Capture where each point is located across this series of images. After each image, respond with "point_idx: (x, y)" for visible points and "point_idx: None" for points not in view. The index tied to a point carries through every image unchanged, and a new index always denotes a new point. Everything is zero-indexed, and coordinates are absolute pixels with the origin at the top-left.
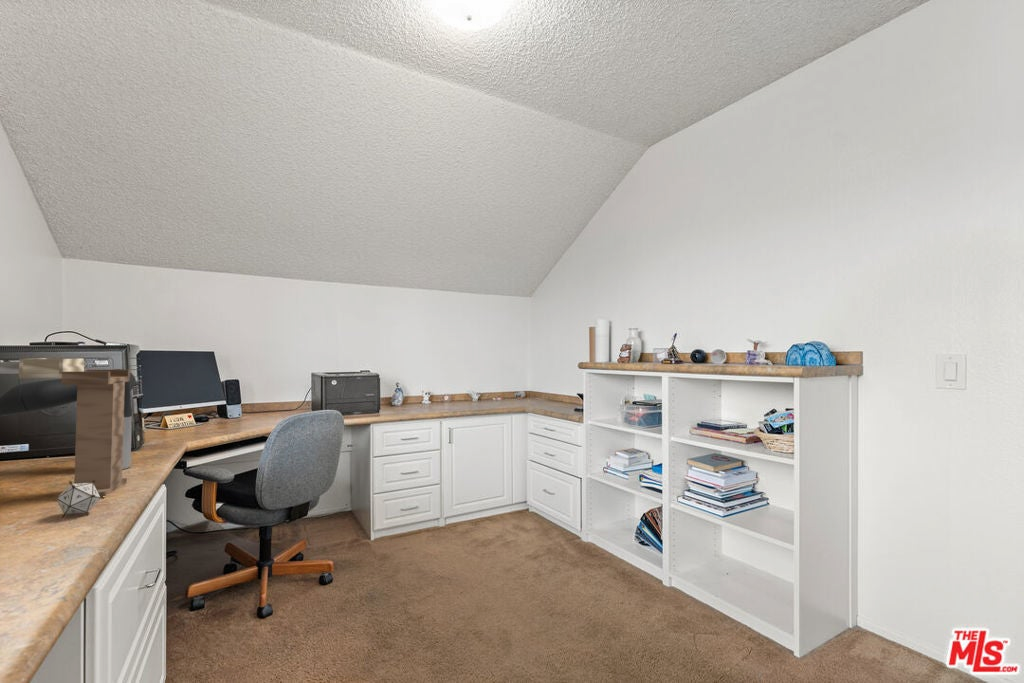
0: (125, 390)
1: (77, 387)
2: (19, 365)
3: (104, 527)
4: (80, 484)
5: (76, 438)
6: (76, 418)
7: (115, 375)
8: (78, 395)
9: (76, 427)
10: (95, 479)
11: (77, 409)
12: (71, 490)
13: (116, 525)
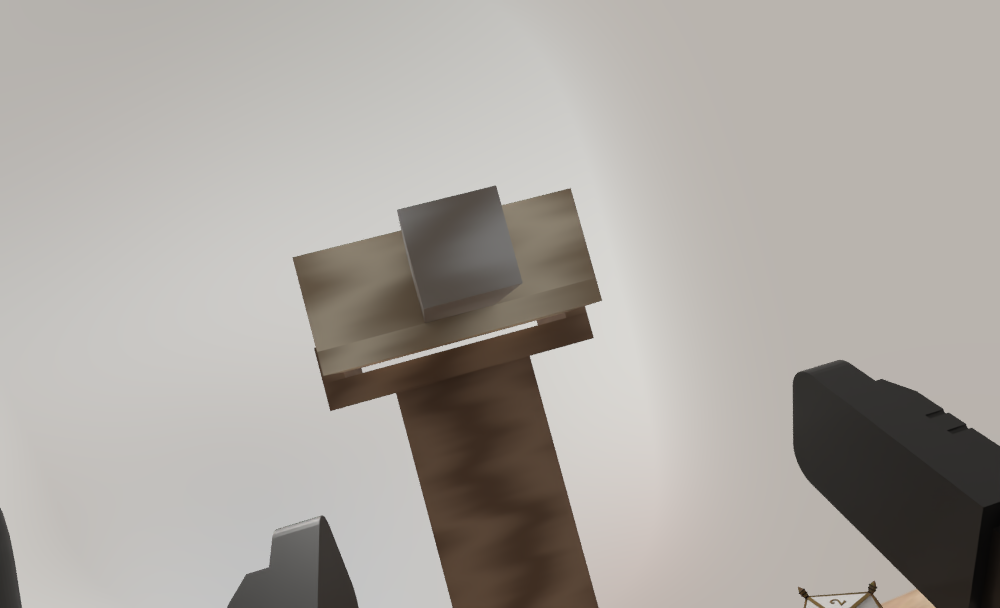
0: (16, 574)
1: (532, 370)
2: (580, 226)
3: (925, 603)
4: (838, 600)
5: (596, 601)
6: (571, 510)
7: (357, 370)
8: (542, 405)
9: (581, 552)
10: (798, 587)
11: (559, 469)
12: (878, 602)
13: (903, 597)
